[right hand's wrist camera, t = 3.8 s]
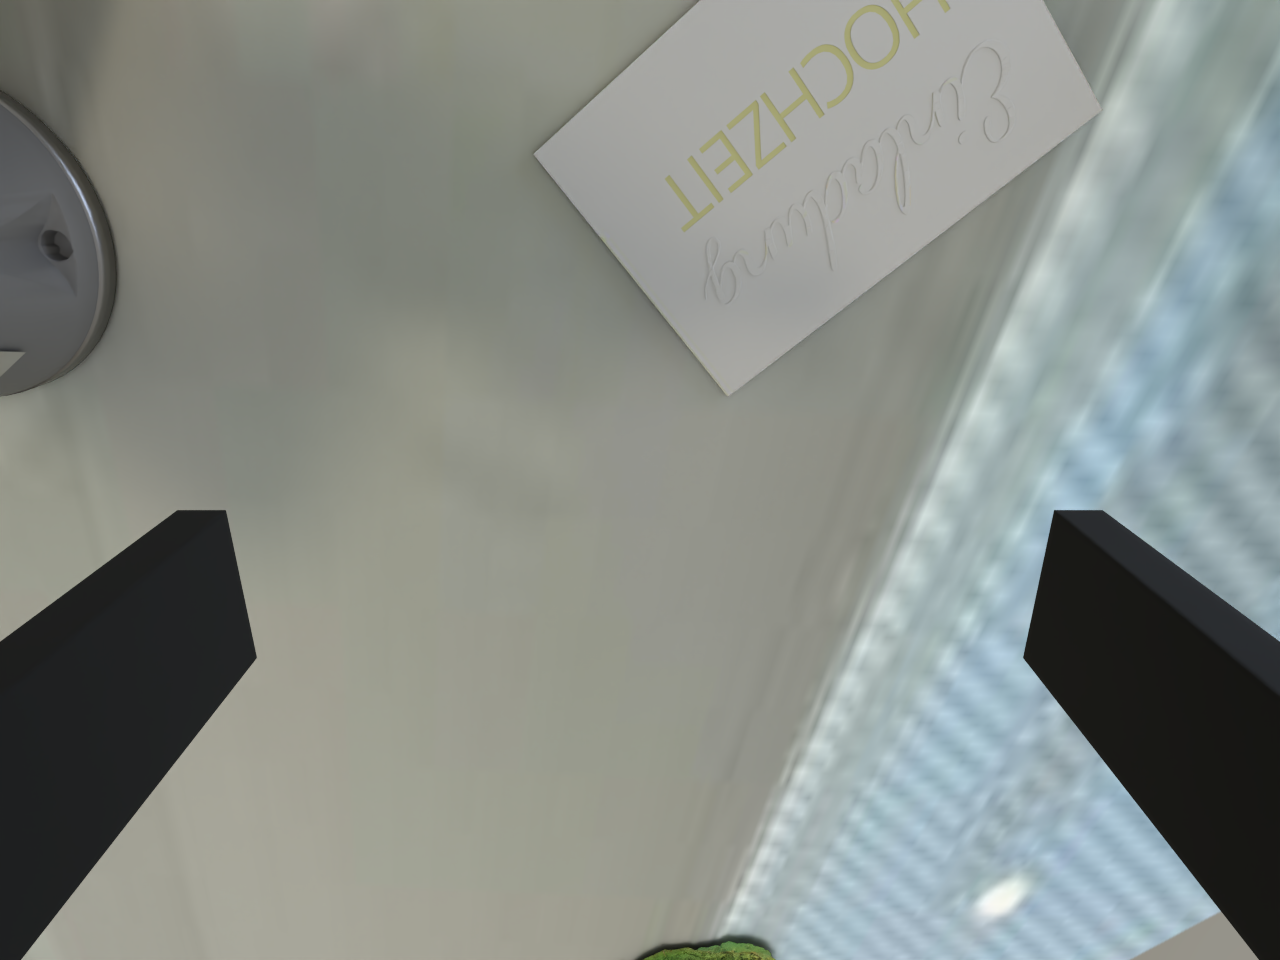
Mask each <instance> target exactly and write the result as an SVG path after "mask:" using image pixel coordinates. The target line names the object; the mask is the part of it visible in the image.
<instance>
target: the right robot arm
mask: <svg viewBox="0 0 1280 960" xmlns="http://www.w3.org/2000/svg"><path fill="white" fill-rule="evenodd" d="M115 289H116V265H115V255H114V248H113V242H112V238H111V234H110V231H109V227H108V224H107V221H106V218H105V215H104V212H103V209H102V207H101V205H100V203H99V200H98V198H97V196H96V194H95V192H94V190H93V188H92V186H91V185H90V183H89V181H88V179H87V177H86V176H85V174H84V173H83V171H82V170H81V168H80V166H79V165H78V163H77V162H76V160H75V159H74V158H73V157H72V155H71V154H70V153H69V151H68V150H67V149H66V147H65V146H64V145H63V144H62V143H61V142H60V141H59V139H58V138H57V137H56V136H55V135H54V134H53V133H52V132H51V131H50V130H49V129H48V128H47V127H46V126H45V125H44V124H43V123H42V122H41V121H40V120H39V119H38V118H37V117H36V116H34V115H33V114H32V113H31V112H30V111H28V110H27V109H26V108H25V107H23V106H22V105H21V104H19V103H18V102H17V101H15V100H14V99H12V98H11V97H9V96H8V95H7V94H5V93H3V92H2V91H0V396H7V395H12V394H16V393H20V392H23V391H26V390H29V389H32V388H35V387H37V386H40V385H43V384H46V383H48V382H51V381H53V380H55V379H57V378H59V377H61V376H63V375H64V374H66V373H68V372H69V371H71V370H72V369H74V368H75V367H76V366H77V365H78V364H79V363H81V362H82V361H83V360H84V359H85V358H86V357H87V356H88V354H89V353H90V352H91V351H92V350H93V348H94V347H95V346H96V344H97V343H98V341H99V340H100V338H101V336H102V334H103V332H104V330H105V328H106V326H107V323H108V320H109V318H110V315H111V311H112V307H113V303H114V296H115ZM256 658H257V656H256V652H255V647H254V642H253V637H252V633H251V628H250V623H249V618H248V614H247V609H246V604H245V599H244V595H243V590H242V585H241V580H240V575H239V571H238V566H237V561H236V556H235V552H234V547H233V542H232V537H231V533H230V528H229V523H228V518H227V514H226V510H177V511H176V512H175V513H173V514H172V515H171V516H169V517H168V518H166V519H165V520H164V521H162V522H161V523H160V524H158V525H157V526H156V527H154V528H153V529H152V530H150V531H149V532H148V533H146V534H145V535H144V536H142V537H141V538H139V539H138V540H137V541H135V542H134V543H133V544H131V545H130V546H129V547H127V548H126V549H125V550H123V551H122V552H121V553H119V554H118V555H117V556H115V557H114V558H113V559H111V560H110V561H108V562H107V563H106V564H104V565H103V566H102V567H100V568H99V569H98V570H96V571H95V572H94V573H92V574H91V575H90V576H88V577H87V578H86V579H84V580H83V581H82V582H80V583H79V584H77V585H76V586H75V587H73V588H72V589H71V590H69V591H68V592H67V593H65V594H64V595H63V596H61V597H60V598H59V599H57V600H56V601H55V602H53V603H52V604H51V605H49V606H48V607H46V608H45V609H44V610H42V611H41V612H40V613H38V614H37V615H36V616H34V617H33V618H32V619H30V620H29V621H28V622H26V623H25V624H24V625H22V626H21V627H20V628H18V629H17V630H15V631H14V632H13V633H11V634H10V635H9V636H7V637H6V638H5V639H3V640H2V641H1V642H0V960H21V959H22V958H23V956H24V955H25V954H26V953H27V951H28V950H29V949H30V947H31V946H32V945H33V944H34V942H35V941H36V940H37V938H38V937H39V936H40V935H41V933H42V932H43V931H44V930H45V928H46V927H47V926H48V924H49V923H50V922H51V921H52V919H53V918H54V917H55V915H56V914H57V913H58V912H59V910H60V909H61V908H62V906H63V905H64V904H65V903H66V901H67V900H68V899H69V898H70V896H71V895H72V894H73V892H74V891H75V890H76V889H77V887H78V886H79V885H80V883H81V882H82V881H83V880H84V878H85V877H86V876H87V874H88V873H89V872H90V871H91V869H92V868H93V867H94V866H95V864H96V863H97V862H98V860H99V859H100V858H101V857H102V855H103V854H104V853H105V851H106V850H107V849H108V848H109V846H110V845H111V844H112V842H113V841H114V840H115V839H116V837H117V836H118V835H119V834H120V832H121V831H122V830H123V828H124V827H125V826H126V825H127V823H128V822H129V821H130V819H131V818H132V817H133V816H134V814H135V813H136V812H137V810H138V809H139V808H140V807H141V805H142V804H143V803H144V802H145V800H146V799H147V798H148V796H149V795H150V794H151V793H152V791H153V790H154V789H155V787H156V786H157V785H158V784H159V782H160V781H161V780H162V778H163V777H164V776H165V775H166V773H167V772H168V771H169V770H170V768H171V767H172V766H173V764H174V763H175V762H176V761H177V759H178V758H179V757H180V755H181V754H182V753H183V752H184V750H185V749H186V748H187V746H188V745H189V744H190V743H191V741H192V740H193V739H194V738H195V736H196V735H197V734H198V732H199V731H200V730H201V729H202V727H203V726H204V725H205V723H206V722H207V721H208V720H209V718H210V717H211V716H212V714H213V713H214V712H215V711H216V709H217V708H218V707H219V706H220V704H221V703H222V702H223V700H224V699H225V698H226V697H227V695H228V694H229V693H230V691H231V690H232V689H233V688H234V686H235V685H236V684H237V682H238V681H239V680H240V679H241V677H242V676H243V675H244V674H245V672H246V671H247V670H248V668H249V667H250V666H251V665H252V663H253V662H254V661H255V659H256ZM1023 658H1024V659H1025V661H1026V662H1027V663H1028V665H1029V666H1030V667H1031V668H1032V670H1033V671H1034V672H1035V674H1036V675H1037V676H1038V677H1039V679H1040V680H1041V681H1042V682H1043V684H1044V685H1045V686H1046V688H1047V689H1048V690H1049V691H1050V693H1051V694H1052V695H1053V697H1054V698H1055V699H1056V700H1057V702H1058V703H1059V704H1060V706H1061V707H1062V708H1063V709H1064V711H1065V712H1066V713H1067V714H1068V716H1069V717H1070V718H1071V720H1072V721H1073V722H1074V723H1075V725H1076V726H1077V727H1078V729H1079V730H1080V731H1081V732H1082V734H1083V735H1084V736H1085V738H1086V739H1087V740H1088V741H1089V743H1090V744H1091V745H1092V746H1093V748H1094V749H1095V750H1096V752H1097V753H1098V754H1099V755H1100V757H1101V758H1102V759H1103V761H1104V762H1105V763H1106V764H1107V766H1108V767H1109V768H1110V770H1111V771H1112V772H1113V773H1114V775H1115V776H1116V777H1117V778H1118V780H1119V781H1120V782H1121V784H1122V785H1123V786H1124V787H1125V789H1126V790H1127V791H1128V793H1129V794H1130V795H1131V796H1132V798H1133V799H1134V800H1135V802H1136V803H1137V804H1138V805H1139V807H1140V808H1141V809H1142V810H1143V812H1144V813H1145V814H1146V816H1147V817H1148V818H1149V819H1150V821H1151V822H1152V823H1153V825H1154V826H1155V827H1156V828H1157V830H1158V831H1159V832H1160V834H1161V835H1162V836H1163V837H1164V839H1165V840H1166V841H1167V842H1168V844H1169V845H1170V846H1171V848H1172V849H1173V850H1174V851H1175V853H1176V854H1177V855H1178V857H1179V858H1180V859H1181V860H1182V862H1183V863H1184V864H1185V866H1186V867H1187V868H1188V869H1189V871H1190V872H1191V873H1192V874H1193V876H1194V877H1195V878H1196V880H1197V881H1198V882H1199V883H1200V885H1201V886H1202V887H1203V889H1204V890H1205V891H1206V892H1207V894H1208V895H1209V896H1210V898H1211V899H1212V900H1213V901H1214V903H1215V904H1216V905H1217V906H1218V908H1219V909H1220V910H1221V912H1222V913H1223V914H1224V915H1225V917H1226V918H1227V919H1228V921H1229V922H1230V923H1231V924H1232V926H1233V927H1234V928H1235V930H1236V931H1237V932H1238V933H1239V935H1240V936H1241V937H1242V938H1243V940H1244V941H1245V942H1246V944H1247V945H1248V946H1249V947H1250V949H1251V950H1252V951H1253V953H1254V954H1255V955H1256V956H1257V958H1258V959H1259V960H1280V642H1279V641H1278V640H1277V639H1275V638H1274V637H1273V636H1271V635H1270V634H1269V633H1267V632H1266V631H1265V630H1263V629H1262V628H1260V627H1259V626H1258V625H1256V624H1255V623H1254V622H1252V621H1251V620H1250V619H1248V618H1247V617H1246V616H1244V615H1243V614H1242V613H1240V612H1239V611H1238V610H1236V609H1235V608H1234V607H1232V606H1231V605H1229V604H1228V603H1227V602H1225V601H1224V600H1223V599H1221V598H1220V597H1219V596H1217V595H1216V594H1215V593H1213V592H1212V591H1211V590H1209V589H1208V588H1207V587H1205V586H1204V585H1203V584H1201V583H1200V582H1198V581H1197V580H1196V579H1194V578H1193V577H1192V576H1190V575H1189V574H1188V573H1186V572H1185V571H1184V570H1182V569H1181V568H1180V567H1178V566H1177V565H1176V564H1174V563H1173V562H1172V561H1170V560H1169V559H1167V558H1166V557H1165V556H1163V555H1162V554H1161V553H1159V552H1158V551H1157V550H1155V549H1154V548H1153V547H1151V546H1150V545H1149V544H1147V543H1146V542H1145V541H1143V540H1142V539H1141V538H1139V537H1138V536H1136V535H1135V534H1134V533H1132V532H1131V531H1130V530H1128V529H1127V528H1126V527H1124V526H1123V525H1122V524H1120V523H1119V522H1118V521H1116V520H1115V519H1114V518H1112V517H1111V516H1109V515H1108V514H1107V513H1105V512H1104V511H1103V510H1054V514H1053V518H1052V523H1051V528H1050V533H1049V537H1048V542H1047V547H1046V552H1045V556H1044V561H1043V566H1042V571H1041V575H1040V580H1039V585H1038V590H1037V595H1036V599H1035V604H1034V609H1033V614H1032V618H1031V623H1030V628H1029V633H1028V637H1027V642H1026V647H1025V652H1024V656H1023Z"/></svg>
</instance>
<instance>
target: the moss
mask: <svg viewBox="0 0 1280 960" xmlns="http://www.w3.org/2000/svg"><path fill="white" fill-rule="evenodd" d="M643 960H775V959H774V958H772V957H771V953H770V952H769V950H765V949H764V948H762V947H758V946H754V945H753V944H749V943H748V944H745V943H738V944H737V943H734V942H731V941H728V942H726V943H722V944H721V946H718V945H714V946H712V947H708V948H705V947H704V948H703V947H701V948H699V949H698V950H693V949H691V948H682V949H675V950H662V951H660V952H658V953H656V954H654V955H652V956H650V957H647V958H645V959H643Z"/></svg>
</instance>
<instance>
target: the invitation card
mask: <svg viewBox="0 0 1280 960" xmlns="http://www.w3.org/2000/svg"><path fill="white" fill-rule="evenodd" d="M1102 110H1103V109H1102V107H1101V106H1100V104H1099V102H1098V100H1097V98H1096V96H1095V95H1094V93H1093V91H1092V89H1091V87H1090V85H1089V84H1088V82H1087V80H1086V78H1085V76H1084V74H1083V73H1082V71H1081V69H1080V67H1079V65H1078V63H1077V62H1076V60H1075V58H1074V56H1073V54H1072V53H1071V51H1070V49H1069V47H1068V45H1067V43H1066V42H1065V40H1064V38H1063V36H1062V34H1061V32H1060V31H1059V29H1058V27H1057V25H1056V23H1055V21H1054V20H1053V18H1052V16H1051V14H1050V12H1049V10H1048V9H1047V7H1046V5H1045V3H1044V1H1043V0H700V1H699V2H698V3H697V4H696V5H694V6H693V7H692V8H691V9H690V10H689V11H688V12H687V13H686V14H685V15H684V16H683V17H681V18H680V19H679V20H678V21H677V22H676V23H675V24H674V25H673V26H672V27H671V28H670V29H668V30H667V31H666V32H665V33H664V34H663V35H662V36H661V37H660V38H659V39H658V40H656V41H655V42H654V43H653V44H652V45H651V46H650V47H649V48H648V49H647V50H646V51H645V52H643V53H642V54H641V55H640V56H639V57H638V58H637V59H636V60H635V61H634V62H633V63H632V64H630V65H629V66H628V67H627V68H626V69H625V70H624V71H623V72H622V73H621V74H620V75H619V76H617V77H616V78H615V79H614V80H613V81H612V82H611V83H610V84H609V85H608V86H607V87H605V88H604V89H603V90H602V91H601V92H600V93H599V94H598V95H597V96H596V97H595V98H594V99H592V100H591V101H590V102H589V103H588V104H587V105H586V106H585V107H584V108H583V109H582V110H581V111H579V112H578V113H577V114H576V115H575V116H574V117H573V118H572V119H571V120H570V121H569V122H567V123H566V124H565V125H564V126H563V127H562V128H561V129H560V130H559V131H558V132H557V133H556V134H554V135H553V136H552V137H551V138H550V139H549V140H548V141H547V142H546V143H545V144H544V145H543V146H541V147H540V148H539V149H538V150H537V151H536V152H535V153H534V156H535V157H536V158H537V159H538V161H539V162H540V163H541V164H542V166H543V167H544V168H545V169H546V171H547V172H548V173H549V174H550V176H551V177H552V178H553V179H554V181H555V182H556V183H557V184H558V186H559V187H560V188H561V189H562V191H563V192H564V193H565V194H566V196H567V197H568V198H569V199H570V201H571V202H572V203H573V204H574V206H575V207H576V208H577V209H578V211H579V212H580V213H581V214H582V216H583V217H584V218H585V219H586V221H587V222H588V223H589V224H590V225H591V227H592V228H593V229H594V230H595V232H596V233H597V234H598V235H599V237H600V238H601V239H602V240H603V242H604V243H605V244H606V245H607V247H608V248H609V249H610V250H611V252H612V253H613V254H614V255H615V257H616V258H617V259H618V260H619V262H620V263H621V264H622V265H623V267H624V268H625V269H626V270H627V272H628V273H629V274H630V275H631V277H632V278H633V279H634V280H635V282H636V283H637V284H638V285H639V287H640V288H641V289H642V290H643V292H644V293H645V294H646V295H647V297H648V298H649V299H650V300H651V302H652V303H653V304H654V305H655V307H656V308H657V309H658V310H659V312H660V313H661V314H662V315H663V317H664V318H665V319H666V320H667V322H668V323H669V324H670V325H671V327H672V328H673V329H674V330H675V332H676V333H677V334H678V335H679V337H680V338H681V339H682V340H683V341H684V343H685V344H686V345H687V346H688V348H689V349H690V350H691V351H692V353H693V354H694V355H695V356H696V358H697V359H698V360H699V361H700V363H701V364H702V365H703V366H704V368H705V369H706V370H707V371H708V373H709V374H710V375H711V376H712V378H713V379H714V380H715V381H716V383H717V384H718V385H719V386H720V388H721V389H722V390H723V391H724V393H725V394H726V395H727V396H728V397H729V396H730V395H731V394H733V393H734V392H735V391H737V390H738V389H739V388H740V387H742V386H743V385H744V384H746V383H747V382H748V381H750V380H751V379H752V378H753V377H755V376H756V375H757V374H759V373H760V372H761V371H763V370H764V369H765V368H767V367H768V366H769V365H770V364H772V363H773V362H774V361H776V360H777V359H778V358H780V357H781V356H782V355H784V354H785V353H786V352H787V351H789V350H790V349H791V348H793V347H794V346H795V345H797V344H798V343H799V342H800V341H802V340H803V339H804V338H806V337H807V336H808V335H810V334H811V333H812V332H814V331H815V330H816V329H817V328H819V327H820V326H821V325H823V324H824V323H825V322H827V321H828V320H829V319H831V318H832V317H833V316H834V315H836V314H837V313H838V312H840V311H841V310H842V309H844V308H845V307H846V306H847V305H849V304H850V303H851V302H853V301H854V300H855V299H857V298H858V297H859V296H861V295H862V294H863V293H864V292H866V291H867V290H868V289H870V288H871V287H872V286H874V285H875V284H876V283H878V282H879V281H880V280H881V279H883V278H884V277H885V276H887V275H888V274H889V273H891V272H892V271H893V270H894V269H896V268H897V267H898V266H900V265H901V264H902V263H904V262H905V261H906V260H908V259H909V258H910V257H911V256H913V255H914V254H915V253H917V252H918V251H919V250H921V249H922V248H923V247H924V246H926V245H927V244H928V243H930V242H931V241H932V240H934V239H935V238H936V237H938V236H939V235H940V234H941V233H943V232H944V231H945V230H947V229H948V228H949V227H951V226H952V225H953V224H955V223H956V222H957V221H958V220H960V219H961V218H962V217H964V216H965V215H966V214H968V213H969V212H970V211H971V210H973V209H974V208H975V207H977V206H978V205H979V204H981V203H982V202H983V201H985V200H986V199H987V198H988V197H990V196H991V195H992V194H994V193H995V192H996V191H998V190H999V189H1000V188H1002V187H1003V186H1004V185H1005V184H1007V183H1008V182H1009V181H1011V180H1012V179H1013V178H1015V177H1016V176H1017V175H1018V174H1020V173H1021V172H1022V171H1024V170H1025V169H1026V168H1028V167H1029V166H1030V165H1032V164H1033V163H1034V162H1035V161H1037V160H1038V159H1039V158H1041V157H1042V156H1043V155H1045V154H1046V153H1047V152H1049V151H1050V150H1051V149H1052V148H1054V147H1055V146H1056V145H1058V144H1059V143H1060V142H1062V141H1063V140H1064V139H1065V138H1067V137H1068V136H1069V135H1071V134H1072V133H1073V132H1075V131H1076V130H1077V129H1079V128H1080V127H1081V126H1082V125H1084V124H1085V123H1086V122H1088V121H1089V120H1090V119H1092V118H1093V117H1094V116H1096V115H1097V114H1098V113H1099V112H1101V111H1102Z"/></svg>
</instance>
